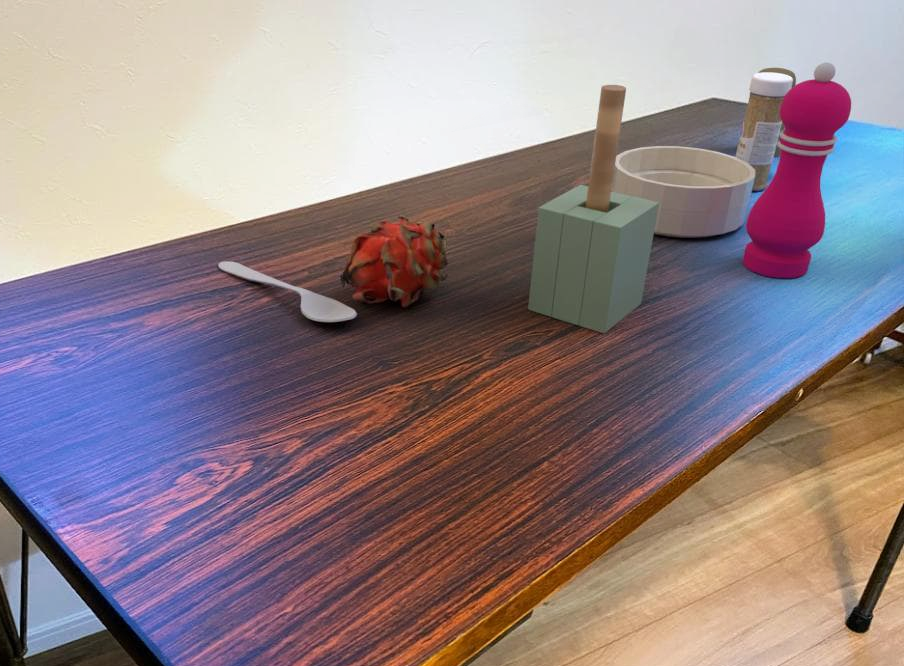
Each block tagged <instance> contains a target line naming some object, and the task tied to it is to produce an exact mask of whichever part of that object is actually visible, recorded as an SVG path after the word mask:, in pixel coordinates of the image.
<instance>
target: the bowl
mask: <svg viewBox="0 0 904 666" xmlns="http://www.w3.org/2000/svg"><path fill="white" fill-rule="evenodd" d="M754 179H755V169H754V168H753V167H752V166H751V165H750V164H749V163H747V162H745V161H743V160H740V159H738V158H736V156H733V155H729V154H728V153H727V154H726V153H723V152H720V151H716V150H710V149H706V148H705V149H704V148H699V147H690V146H679V145H656V146H654V145H653V146H643V147H637V148H634V149H627V150H624V151H623V152H621V153H619V154H617V155H616V162H615V169H614V176H613V183H612V189H611V192H615V193H619V194H624V195H628V196H632V197H637V198H642V199H646V200H650V201H655V202H659V207H658V212H657V218H656V223H655V229H654V235H659V236H663V237H671V238H686V239H689V238H691V239H692V238H693V239H694V238H709V237H713V236H714V237H715V236H718V235H724V234H726V233H727V234H728V233H730V232H733V231H736V230H738V229H739V228H740V227H741V226H743V225H744V224H745V223H746V222H745V221H746V218H747V214H748V210H749V209H748V208H749V205H750V200H751V196H752V192H753V191H752V188H753V184H754Z"/></svg>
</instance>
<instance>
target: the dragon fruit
mask: <svg viewBox="0 0 904 666" xmlns="http://www.w3.org/2000/svg"><path fill="white" fill-rule="evenodd" d="M397 218H398V219H399V221H398V222H397V223H390V222H389V221H387V220H383V221H377V222H376V223H374V224H373V225H372V226H371V229H370V231H369V232H365V233H362V234H360V235H357V236H356V237H355V238H353V240H352V244H351V247H350V249H351V250H350V254H349V257H348V259H347V261H346V264H345V268H344V270H343V271H342V274H341V275H340V277H339V278H340V284H341V286H342V288H344V287H345V286H346V284H347V285H351V286H352V287H353V288H356V289H358V290H356V291H355V292H353V293H352V295H351V297H352V299H353V300H354V301H356V302H357V304H359V303H362V302H363V303H366V304H369V305H371V304H379V303H383V302H385V301H387V300H388V301H389V300H390V301H392V302H397V301H398V300H400V304H401V307H402V308H407V307H408V306H410V305H411V304H413V303H415V301H417V300H418V299H419V297H421V296H422V295H423V294H424V290H423V289H424V288H425V289H426V290H427V291H432V290H435V289H439V288H440V287H441V283H442V282H444V281H446V279H447V278H448V274H446V275H445V276H443V275H441V274H440V271H441V270H443V269H445V268H446V267H447V266H448V265H449V264H448V259H447V256H446V252H448V251H449V248H448V242H447V240H448V237H447V235H446V236H445V235H444V234H443V233H441V232H440V231H439V230H435V226H436V225H435V224H434V223H432V222H426V221H423V222H422V223H418V222H414V223H413V222H411V221H409V219H408V218H407V217H406V216H405V215H403V214H400V215H398V216H397Z"/></svg>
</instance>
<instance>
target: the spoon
mask: <svg viewBox="0 0 904 666" xmlns="http://www.w3.org/2000/svg"><path fill="white" fill-rule="evenodd" d="M218 268H219V269H220V270H221V271H223V272H225V273H226V274H227V273H228V274H230V275H233V276H235V277H238V278H241V279H244V280H247V281H250V282H255V283H261V284H264V285H265V284H266V285H270V286H275V287H278V288H282V289H285V290H288V291H291V292H293V293H296V294H298V295H300V312H301V314H302V315H303V316H304V317H306V319H309V320H312V321H313V322H314V321H315V322H320V323H337V322H345V321H348V320H353V319H355V318H356V317H357V315H358V313H357V312H356V310H355V309H354V308H352V307H350V306H348V305H346V304H345V303H342V302H341V301H338V300H336V299H334V298H331V297H328V296H325V295H322V294H319V293H317V292H316V293H315V292H313V291H311V290H310V289H309V290H308V289H305V288H302V287H299V286H295V285H292V284H289V283H286V282H285V281H282V280H279V279H278V278H277V279H276V278H274V277H272V276H270V275H267V274H264V273H262V272H260V271H256V270H255V269H252V268H249V267H247V266H245V265H243V264H241V263H239V262H235V261H221V262H219V263H218Z"/></svg>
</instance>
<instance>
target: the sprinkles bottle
mask: <svg viewBox="0 0 904 666" xmlns="http://www.w3.org/2000/svg"><path fill="white" fill-rule="evenodd" d="M792 82H793V78H792V77H791V76H789V75H785V74H781V73H772V72H763V73H759V72H757V73H754V74H752V76H751V80H750V84H749V97H748V101H747V105H746V111H745V115H744V119H743V121H742V126H741V130H740V131H741V132H740V135H739V140H738V142H739V144H738V143H737V145H738V148H737V147H736V148H737V150H736V154H735V157H736V158H738V159H740V160H743V161H745V162H747V163H749V164H750V165H751V166H752V167H753V168H754V169H755V179H754V184H753V188H752V192H753V191H754V192H758V191H762V190H766V188H767V187H768V178H769V175H770V170H771V167H772V163H773V162H774V158H775V157H774V153H775V149H776V145H777V141H778V137H779V133H780V129H781V125H782V120H781V118H780V107H781V104H782V101H783V99H784V97H785V95H786V94H787V92H788V91H789V90H790V89H791V87H792Z"/></svg>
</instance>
